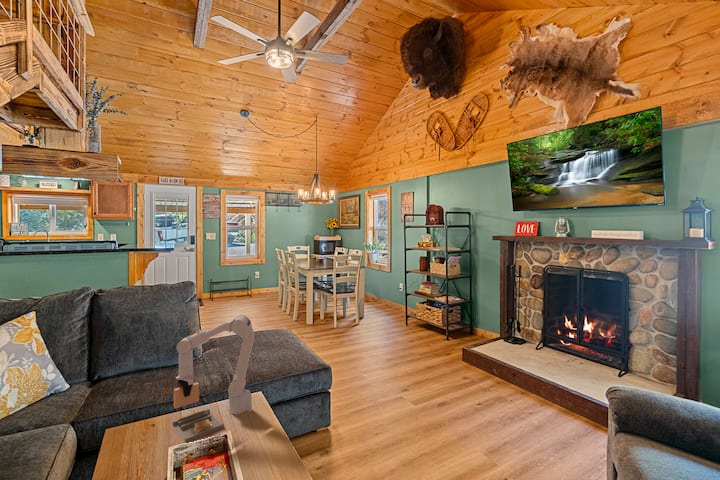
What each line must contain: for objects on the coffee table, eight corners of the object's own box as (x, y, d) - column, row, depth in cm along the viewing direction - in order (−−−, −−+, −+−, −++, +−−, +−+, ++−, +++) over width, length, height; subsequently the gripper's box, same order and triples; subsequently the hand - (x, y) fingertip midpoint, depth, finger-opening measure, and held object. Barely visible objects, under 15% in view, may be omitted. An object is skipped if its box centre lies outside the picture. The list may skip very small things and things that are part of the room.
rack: (209, 413, 153) (209, 408, 153) (224, 429, 141) (224, 423, 141) (172, 427, 143) (172, 421, 143) (185, 445, 131) (185, 439, 131)
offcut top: (208, 422, 142) (208, 419, 142) (210, 426, 139) (210, 422, 139) (194, 427, 139) (194, 423, 139) (196, 431, 136) (196, 427, 136)
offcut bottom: (207, 425, 143) (207, 421, 143) (212, 428, 140) (212, 425, 140) (193, 431, 138) (193, 428, 138) (198, 435, 136) (198, 431, 136)
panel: (197, 399, 156) (197, 382, 156) (198, 401, 155) (199, 383, 154) (173, 406, 149) (173, 389, 149) (175, 408, 148) (175, 390, 147)
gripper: (171, 363, 154) (171, 392, 154) (181, 372, 143) (181, 404, 144) (187, 359, 159) (188, 387, 159) (198, 368, 148) (198, 398, 149)
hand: (186, 395), depth 152 cm, fingers closed on panel, 2 cm apart
